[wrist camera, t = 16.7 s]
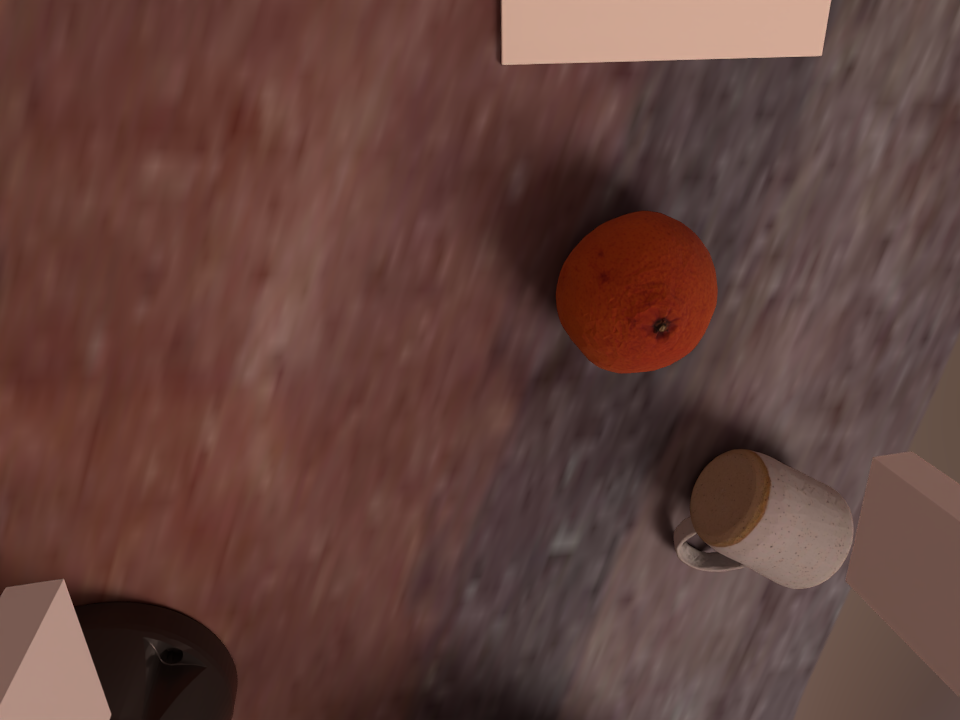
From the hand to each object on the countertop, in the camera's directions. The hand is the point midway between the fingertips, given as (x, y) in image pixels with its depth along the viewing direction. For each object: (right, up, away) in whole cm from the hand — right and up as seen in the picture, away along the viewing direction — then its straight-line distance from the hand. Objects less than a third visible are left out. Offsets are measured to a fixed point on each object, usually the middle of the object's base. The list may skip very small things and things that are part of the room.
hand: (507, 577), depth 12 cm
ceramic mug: (+18, -7, +40) cm, 44 cm away
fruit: (+8, +9, +31) cm, 33 cm away
